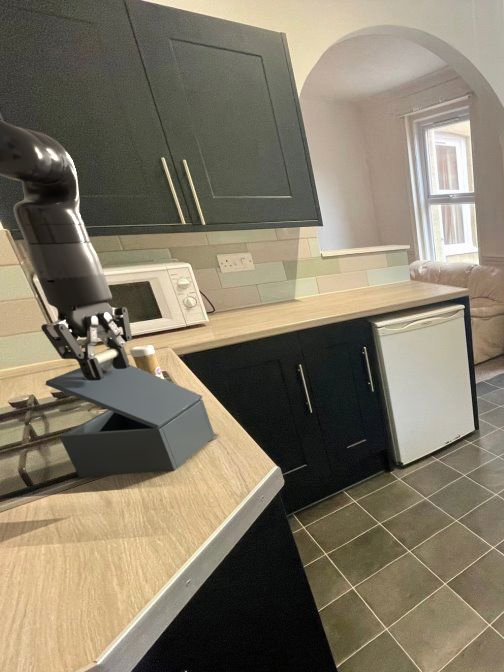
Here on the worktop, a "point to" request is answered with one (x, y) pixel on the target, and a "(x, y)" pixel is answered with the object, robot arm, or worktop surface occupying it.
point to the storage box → (136, 443)
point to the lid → (128, 391)
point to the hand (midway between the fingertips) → (109, 373)
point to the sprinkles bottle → (146, 359)
